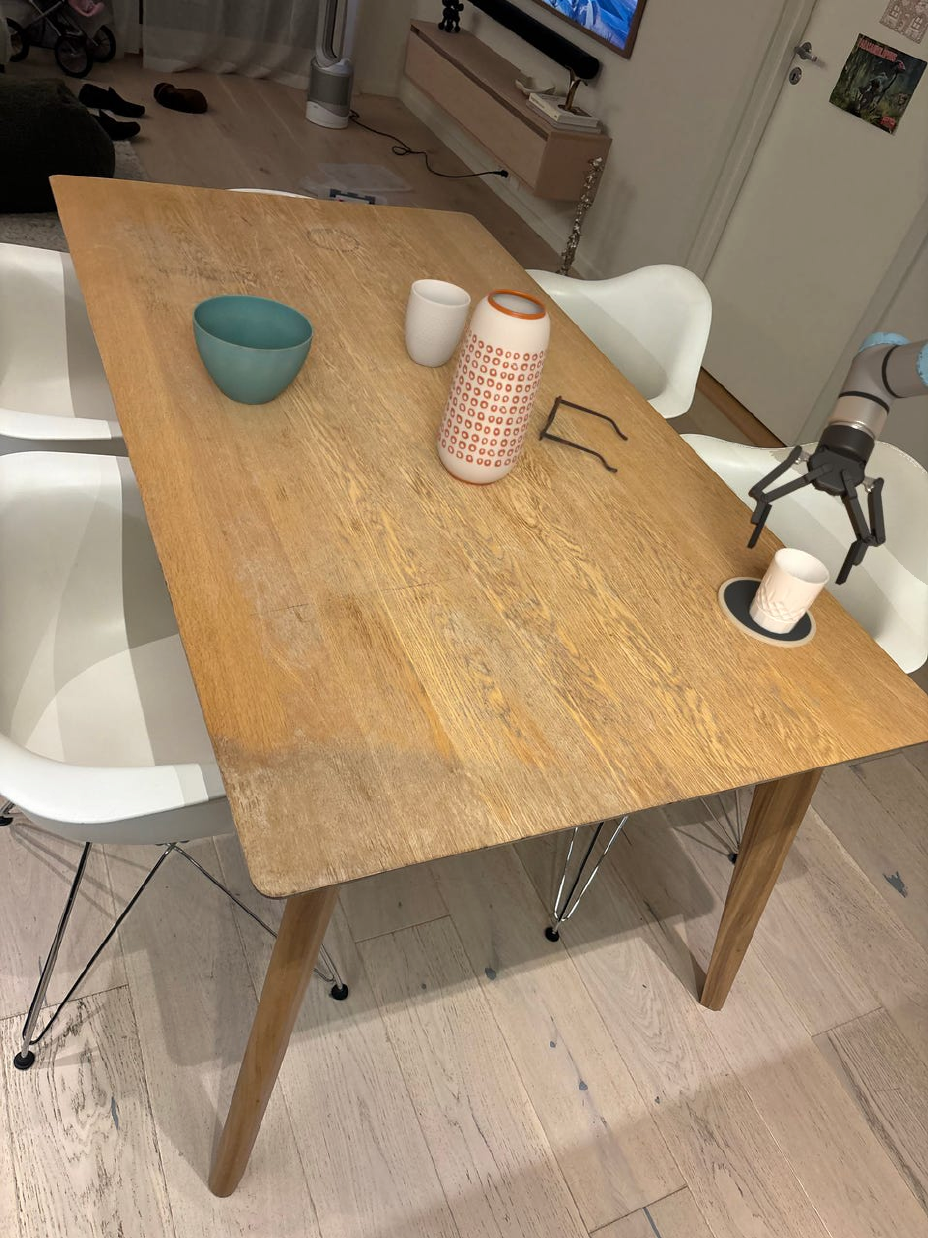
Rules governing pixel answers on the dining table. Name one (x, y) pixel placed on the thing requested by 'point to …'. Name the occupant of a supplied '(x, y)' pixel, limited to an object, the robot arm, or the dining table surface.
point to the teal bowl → (251, 345)
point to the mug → (435, 321)
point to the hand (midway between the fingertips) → (795, 564)
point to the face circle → (736, 608)
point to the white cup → (787, 590)
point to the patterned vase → (494, 387)
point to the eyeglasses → (557, 439)
